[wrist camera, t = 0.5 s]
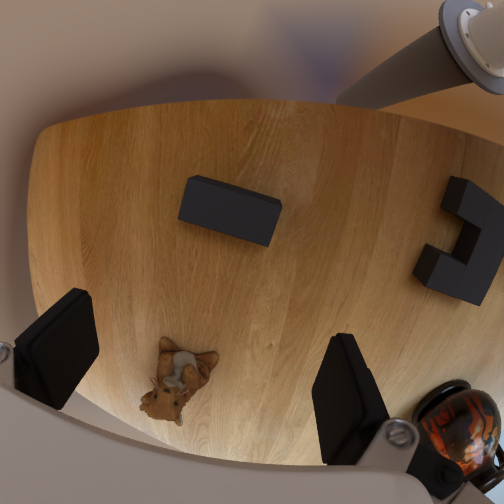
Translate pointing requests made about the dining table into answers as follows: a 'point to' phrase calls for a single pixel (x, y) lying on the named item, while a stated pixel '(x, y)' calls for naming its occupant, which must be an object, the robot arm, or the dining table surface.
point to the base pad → (466, 245)
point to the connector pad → (230, 209)
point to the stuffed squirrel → (176, 381)
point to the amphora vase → (463, 431)
